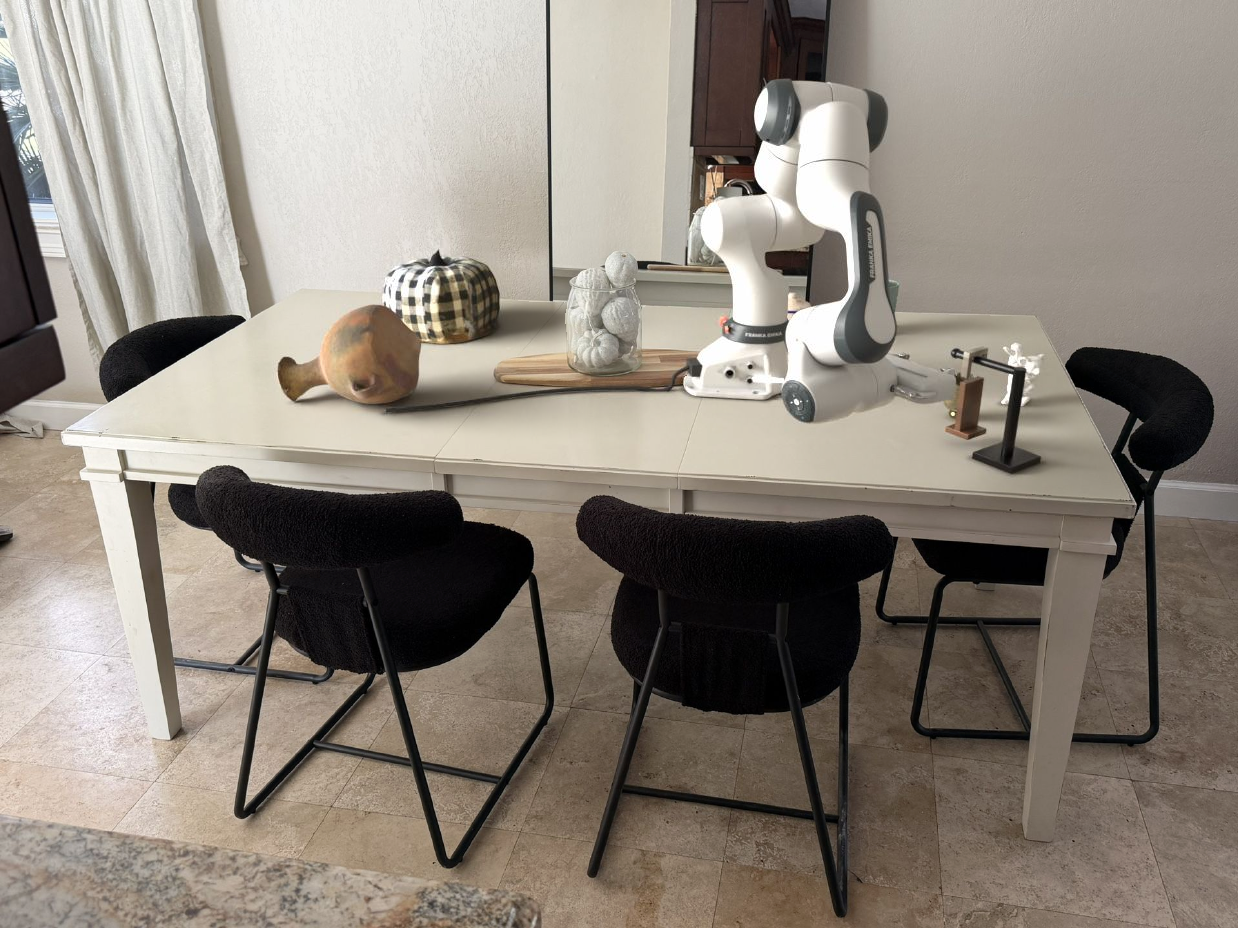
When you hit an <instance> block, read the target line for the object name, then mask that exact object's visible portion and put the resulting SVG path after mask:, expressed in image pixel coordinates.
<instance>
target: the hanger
mask: <svg viewBox="0 0 1238 928" xmlns="http://www.w3.org/2000/svg"><path fill="white" fill-rule="evenodd" d="M988 354H989V347H987V346H984V345H983V346H979V347H976V348H972V349H968V350H965V351H964V357H963V360H962V366H961V372H960V373H961V377H965V378H969V377H970V374H972V373H971V372H972V366H973V363H972V359H973V357H977V356H981V357H984V358H987V359H988ZM984 383H985V377H982V376H979V375H978V377H976V376H975V377H974V378H972V379H969V380H965V381H962V382H960V389H959V397H958V405H957V413H956V419H955V422H954V423H953V424H948V425H946V426H945V429H944V432H945V433H948V434H950V435H954V436H955V437H959V438H960V439H961V438H962V439H964V440H967V441H970V440H972V439H975V438H977V437H982V436H984V435H986V434H987V428H986V427H983V426H980V425H979V421H980V413H981V404H982V398H983V391H984Z"/></svg>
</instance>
